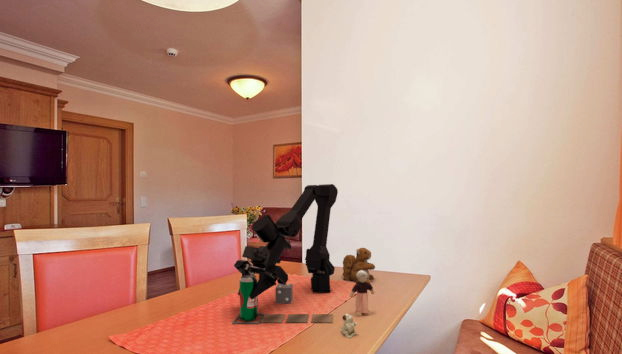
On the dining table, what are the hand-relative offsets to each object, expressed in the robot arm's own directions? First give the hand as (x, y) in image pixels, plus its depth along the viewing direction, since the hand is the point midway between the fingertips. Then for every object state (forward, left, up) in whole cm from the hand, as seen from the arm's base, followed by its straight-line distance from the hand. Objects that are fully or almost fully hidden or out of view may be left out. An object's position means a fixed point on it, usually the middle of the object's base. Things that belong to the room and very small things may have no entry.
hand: (245, 296), depth 95 cm
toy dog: (-29, +9, -7) cm, 31 cm away
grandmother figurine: (-34, -5, -7) cm, 35 cm away
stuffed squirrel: (-35, -44, -7) cm, 57 cm away
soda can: (-1, -1, -7) cm, 7 cm away
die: (-9, -17, -7) cm, 20 cm away
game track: (-11, -1, -7) cm, 13 cm away
